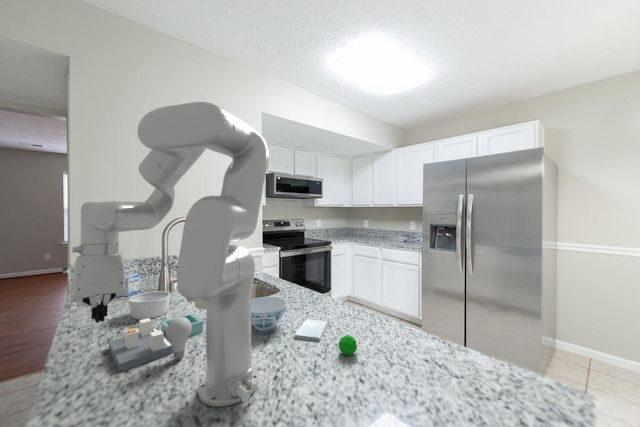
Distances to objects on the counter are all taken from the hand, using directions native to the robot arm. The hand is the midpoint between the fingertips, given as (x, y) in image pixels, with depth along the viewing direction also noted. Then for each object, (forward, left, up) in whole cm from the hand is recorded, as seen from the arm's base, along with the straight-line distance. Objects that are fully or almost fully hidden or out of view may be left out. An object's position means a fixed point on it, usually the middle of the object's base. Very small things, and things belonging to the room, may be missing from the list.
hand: (99, 320), depth 67 cm
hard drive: (-27, -51, -12) cm, 59 cm away
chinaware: (-13, -42, -11) cm, 45 cm away
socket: (+3, -21, -11) cm, 24 cm away
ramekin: (+28, -18, -11) cm, 35 cm away
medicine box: (+64, -18, -11) cm, 67 cm away
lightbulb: (-13, -15, -11) cm, 23 cm away
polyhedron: (-44, -48, -11) cm, 66 cm away
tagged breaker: (-1, -7, -9) cm, 11 cm away
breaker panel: (-1, -9, -11) cm, 14 cm away
